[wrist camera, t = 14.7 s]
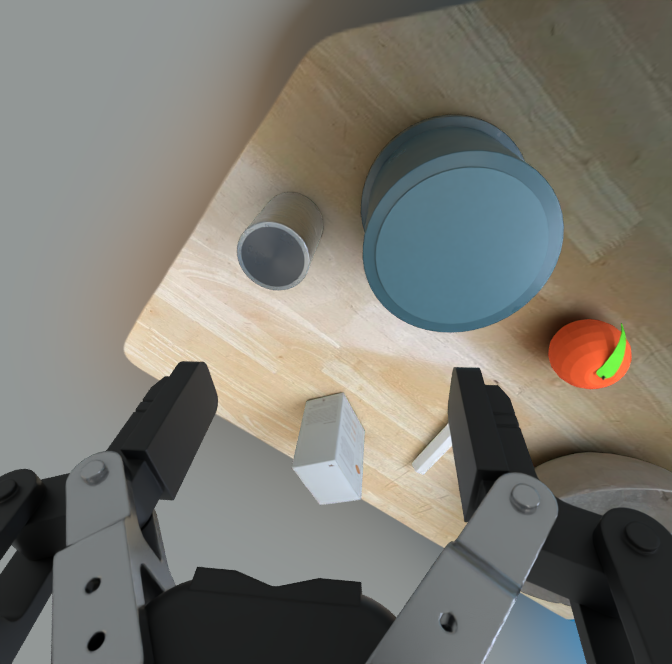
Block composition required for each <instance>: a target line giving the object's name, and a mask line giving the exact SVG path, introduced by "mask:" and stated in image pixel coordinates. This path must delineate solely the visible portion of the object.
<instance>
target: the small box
mask: <svg viewBox="0 0 672 664" xmlns="http://www.w3.org/2000/svg"><path fill="white" fill-rule="evenodd" d="M364 436H365V430H364V429H363V427H362V425H361V423H360V421H359V420H358V418H357V416H356V414H355V412H354V411H353V409H352V407H351V405H350V403H349V402H348V400H347V398H346V396H345V394H344V393H339V394H334V395H330V396H326V397H322V398H318V399H313V400H309V401H306V405H305V409H304V414H303V418H302V423H301V427H300V432H299V436H298V441H297V445H296V450H295V454H294V459H293V463H292V469H293V470H294V472H295V473H296V474H297V475H298V477H299V478H300V479H301V481H302V482H303V483H304V485H305V486H306V487H307V489H308V490H309V491H310V492H311V494H312V495H313V496H314V498H315V499H316V500H317V502H318V503H319V504H320V505H322V504H331V503H339V502H345V501H354V500H360V499H361V494H362V475H363V455H364Z"/></svg>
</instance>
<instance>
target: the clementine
mask: <svg viewBox="0 0 672 664" xmlns="http://www.w3.org/2000/svg"><path fill="white" fill-rule="evenodd" d="M548 356H549V360H550V363H551V367H552V368H553V370H554V371H555V372H556V373H557V375H558V376H559V377H560V378H561V379H563V380H564V381H566V382H567V383H569V384H571V385H573V386H576V387H580V388H586V389H599V388H603V387H607V386H609V385H612V384H613V383H615V382H617V381H618V380H620V379H621V378H622V377H623V376H624V375H625V373H626V372H627V370H628V368H629V366H630V363H631V347H630V345H629V343H628V341H627V339H626V337H625V331H624V329H623V326H622V323H621V332H620V331H619V330H618V329H617V328H615V327H614V326H613V325H611V324H608V323H605V322H603V321H599V320H593V319H586V320H578V321H575V322H571V323H569V324H567V325H565V326H564V327H562V328H561V329H560V330H559V331H558V332H557V333H556V334H555V335H554V336H553V338H552V340H551V342H550V346H549V353H548Z"/></svg>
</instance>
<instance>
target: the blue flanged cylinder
mask: <svg viewBox="0 0 672 664" xmlns="http://www.w3.org/2000/svg"><path fill="white" fill-rule="evenodd" d="M361 217H362V224H363V228H364V232H365V235H364V242H363V264H364V270H365V274H366V278H367V280H368V283H369V285H370V287H371V289H372V291H373V293H374V294H375V296H376V297H377V299H378V300H379V301H380V302H381V304H382V305H383V306H384V307H385V308H386V309H387V310H388V311H389V312H391V313H392V314H393V315H395V316H396V317H397V318H399V319H401V320H403V321H404V322H406V323H408V324H410V325H413V326H416V327H418V328H422V329H425V330H430V331H436V332H464V331H470V330H475V329H479V328H483V327H486V326H489V325H491V324H494V323H497V322H499V321H501V320H503V319H505V318H507V317H508V316H510V315H512V314H513V313H515V312H516V311H518V310H519V309H520V308H522V307H523V306H524V305H526V304H527V303H528V302H529V301H530V300H531V299H532V298H533V297H534V296H535V295H536V294H537V293H538V292H539V291H540V289H541V288H542V287H543V286H544V285H545V283H546V282H547V280H548V278H549V277H550V275H551V274H552V272H553V270H554V268H555V266H556V263H557V261H558V258H559V255H560V252H561V247H562V242H563V230H564V225H563V216H562V211H561V208H560V204H559V201H558V199H557V197H556V195H555V193H554V191H553V189H552V188H551V186H550V185H549V183H548V182H547V181H546V179H545V178H544V177H543V176H542V175H541V174H540V173H539V172H538V171H537V170H535V169H534V168H533V167H531V166H530V165H529V164H527V163H526V162H525V160H524V158H523V156H522V154H521V152H520V150H519V149H518V148H517V146H516V145H515V143H514V142H513V141H512V140H511V139H510V138H509V137H508V136H507V135H506V134H505V133H504V132H502V131H501V130H500V129H498V128H497V127H495V126H494V125H492V124H490V123H488V122H486V121H484V120H482V119H478V118H475V117H472V116H465V115H442V116H436V117H432V118H429V119H425V120H422V121H420V122H418V123H416V124H414V125H411V126H410V127H408V128H407V129H405V130H403V131H402V132H400V133H399V134H398V135H397V136H395V137H394V138H393V139H392V140H391V141H390V142H389V143H388V144H387V145H386V146H385V147H384V148H383V149H382V151H381V152H380V153H379V155H378V156H377V157H376V159H375V161H374V163H373V164H372V166H371V168H370V170H369V173H368V175H367V177H366V181H365V184H364V188H363V193H362V200H361Z"/></svg>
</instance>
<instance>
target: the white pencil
mask: <svg viewBox="0 0 672 664" xmlns="http://www.w3.org/2000/svg"><path fill="white" fill-rule="evenodd" d="M451 446H452V441H451V434H450V428H449V423H448V424H447V425H446V426H445V427H444V428H443V429H442V430H441V431H440V432H439V434H438V435H437V436H436V437H435V438H434V439H433V440H432V441H431V442H430V443H429V445H428V446H427V447H426V448H425V449H424V450H423V451H422V452H421V453H420V454H419V455H418V457H417V458H416V459H415V460H414V461H413V463H412V466H413V468H414V470H415V471H416V472H417V473H420V474H423V475H424V474H425V473H426V472H427V471H428V469H429V468H430V467H431V466H432V465H433V464H434V463H435V462H436V461H437V460H438V459H439V458H440V457H441V456H442V455H443V454H444V453H445V452H446V451H447V450H448V449H449V448H450V447H451Z"/></svg>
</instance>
